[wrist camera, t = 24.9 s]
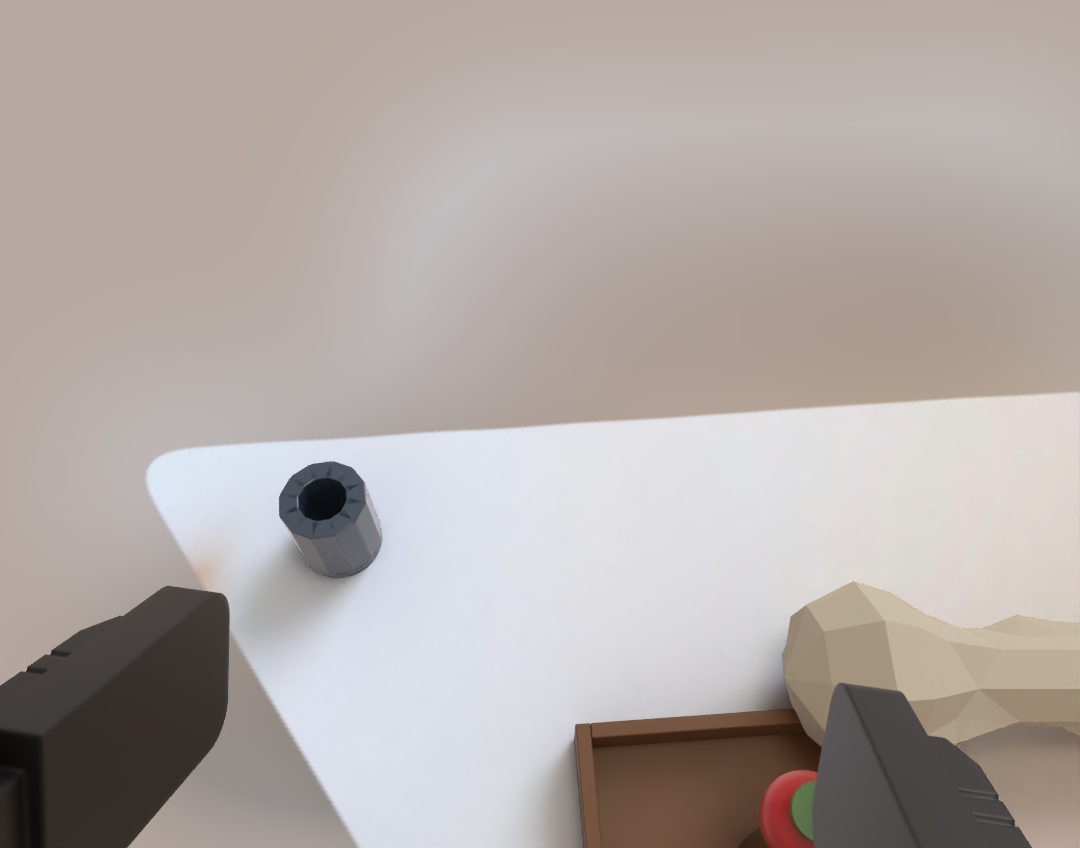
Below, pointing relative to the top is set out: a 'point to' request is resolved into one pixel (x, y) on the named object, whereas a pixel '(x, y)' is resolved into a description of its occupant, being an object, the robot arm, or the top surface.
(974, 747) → the top surface
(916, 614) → the faceted club
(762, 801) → the red ball joystick
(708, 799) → the tray
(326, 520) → the holder
